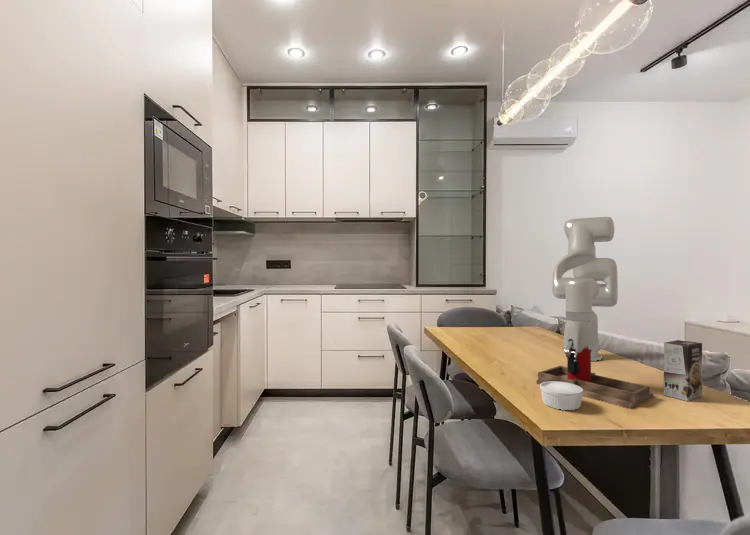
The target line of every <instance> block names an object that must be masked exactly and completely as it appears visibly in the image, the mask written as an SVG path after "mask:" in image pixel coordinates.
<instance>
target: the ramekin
mask: <svg viewBox="0 0 750 535" xmlns="http://www.w3.org/2000/svg"><path fill="white" fill-rule="evenodd" d="M539 388H540V392H541V399H542V401H543V403H544V404H545V406H547V405H548V406H547V407H549V406H550V407H549V408H551V407H553V408H552V409H554V408H556V409H555V410H558V409H561V410H560V411H565V410H573V411H576V410H575V409H577V410H578V409H579V408H581V405H582V398H583V396H582V395H583V389H582V388H581V387H579V386H577V385H575V384H571V383H566V382H557V381H549V382H543V383H541V384H539Z"/></svg>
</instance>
